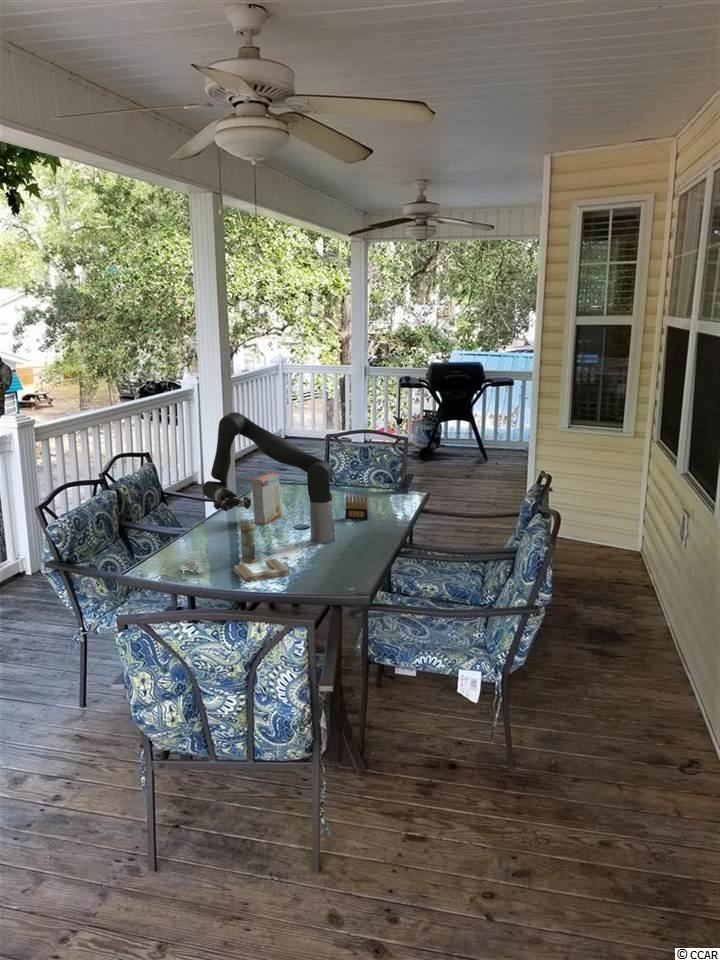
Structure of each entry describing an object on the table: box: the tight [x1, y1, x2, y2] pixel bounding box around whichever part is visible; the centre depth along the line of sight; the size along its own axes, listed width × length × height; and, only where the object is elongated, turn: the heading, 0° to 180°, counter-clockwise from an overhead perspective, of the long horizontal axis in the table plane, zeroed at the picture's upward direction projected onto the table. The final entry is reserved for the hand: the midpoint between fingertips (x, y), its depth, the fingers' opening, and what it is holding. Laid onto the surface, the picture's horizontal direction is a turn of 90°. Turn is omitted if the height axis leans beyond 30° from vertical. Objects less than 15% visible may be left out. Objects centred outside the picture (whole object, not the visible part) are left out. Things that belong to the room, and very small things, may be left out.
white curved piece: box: [178, 559, 198, 571], centre depth 260 cm, size 9×8×4 cm
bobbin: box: [238, 523, 258, 564], centre depth 269 cm, size 6×6×14 cm
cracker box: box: [251, 472, 282, 525], centre depth 322 cm, size 14×6×21 cm, turn 152°
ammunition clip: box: [344, 493, 369, 521], centre depth 323 cm, size 11×2×12 cm, turn 76°
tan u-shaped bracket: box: [233, 558, 290, 584], centre depth 257 cm, size 16×14×2 cm
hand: (237, 507), depth 276 cm, fingers open, 8 cm apart
